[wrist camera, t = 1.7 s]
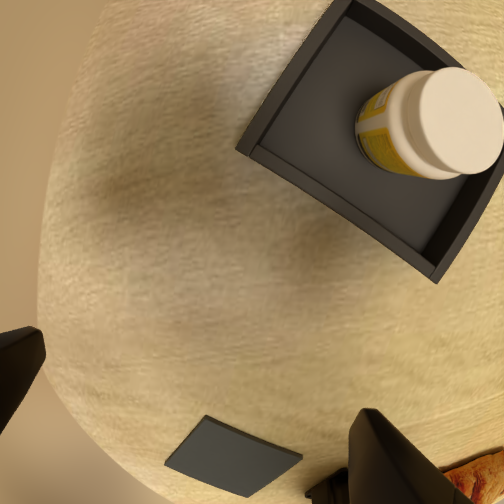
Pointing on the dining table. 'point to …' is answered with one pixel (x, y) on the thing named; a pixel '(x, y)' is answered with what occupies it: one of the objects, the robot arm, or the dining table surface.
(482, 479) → the croissant
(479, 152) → the supplement bottle
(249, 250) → the dining table surface
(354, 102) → the tray
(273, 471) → the mat
